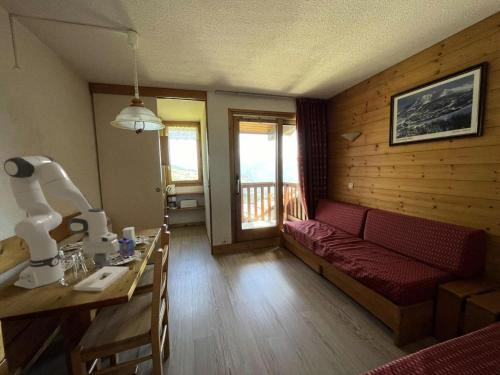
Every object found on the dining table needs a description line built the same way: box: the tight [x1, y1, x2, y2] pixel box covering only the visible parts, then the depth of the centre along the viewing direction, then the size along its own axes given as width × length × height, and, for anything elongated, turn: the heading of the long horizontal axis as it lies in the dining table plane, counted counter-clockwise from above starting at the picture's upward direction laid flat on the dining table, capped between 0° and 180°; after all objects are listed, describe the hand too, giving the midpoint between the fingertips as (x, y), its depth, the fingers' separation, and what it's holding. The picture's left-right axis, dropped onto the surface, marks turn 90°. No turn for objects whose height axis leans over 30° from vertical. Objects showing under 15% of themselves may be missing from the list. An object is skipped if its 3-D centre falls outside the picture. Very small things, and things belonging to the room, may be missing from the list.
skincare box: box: [122, 226, 137, 248], centre depth 169 cm, size 8×7×16 cm
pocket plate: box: [73, 265, 130, 292], centre depth 123 cm, size 16×22×2 cm
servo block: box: [92, 253, 112, 269], centre depth 122 cm, size 4×10×8 cm, turn 175°
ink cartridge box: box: [117, 236, 136, 258], centre depth 154 cm, size 10×6×14 cm, turn 67°
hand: (102, 260), depth 122 cm, fingers closed on servo block, 4 cm apart
